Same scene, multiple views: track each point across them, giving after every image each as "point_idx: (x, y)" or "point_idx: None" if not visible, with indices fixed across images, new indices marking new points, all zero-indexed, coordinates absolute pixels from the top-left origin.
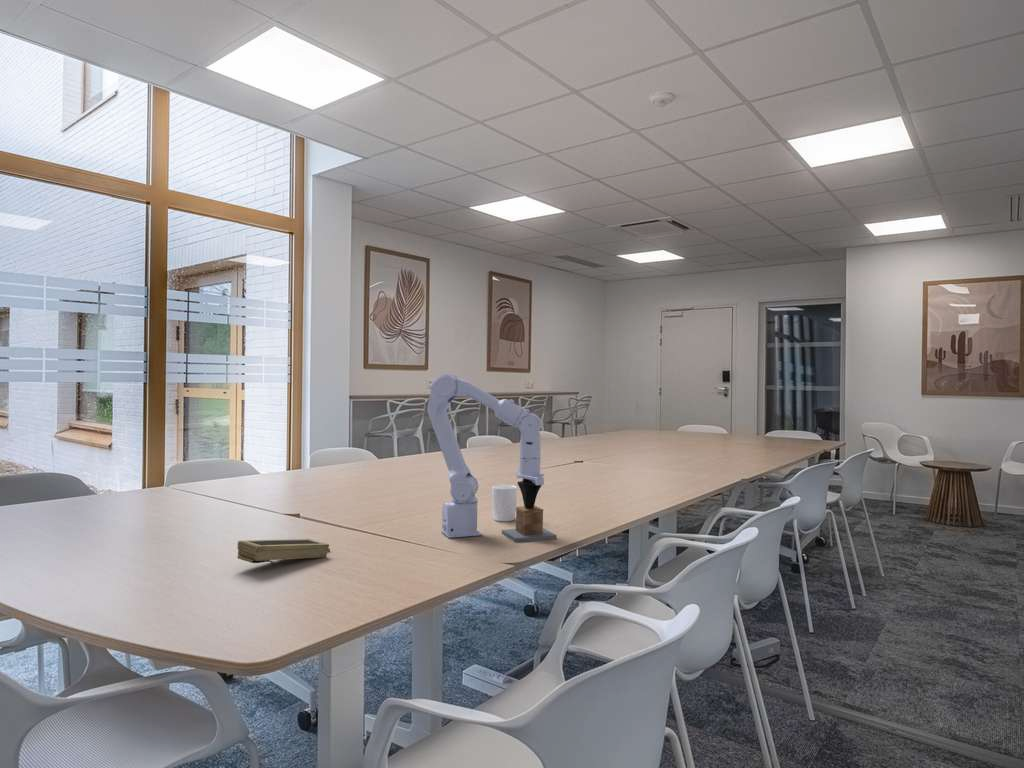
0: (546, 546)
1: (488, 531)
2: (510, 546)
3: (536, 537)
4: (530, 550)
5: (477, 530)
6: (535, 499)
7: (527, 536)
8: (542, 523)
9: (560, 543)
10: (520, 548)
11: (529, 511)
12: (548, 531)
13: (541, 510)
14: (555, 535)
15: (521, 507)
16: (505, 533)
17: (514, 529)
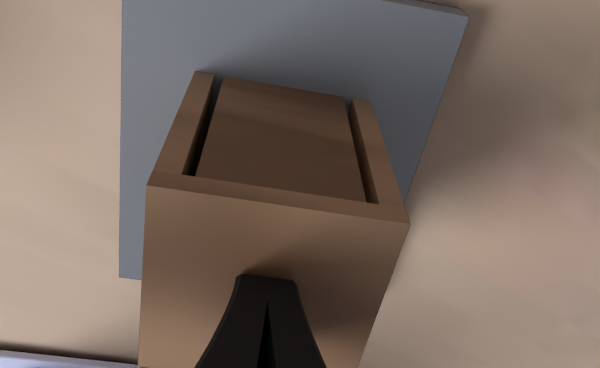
0: (565, 192)
1: (39, 296)
2: (423, 341)
3: (408, 180)
4: (559, 302)
5: (51, 363)
6: (318, 352)
7: None
8: (382, 145)
9: (583, 67)
10: (490, 322)
11: (362, 339)
12: (321, 3)
13: (400, 233)
14: (463, 26)
15: (188, 343)
16: None
17: (136, 205)
